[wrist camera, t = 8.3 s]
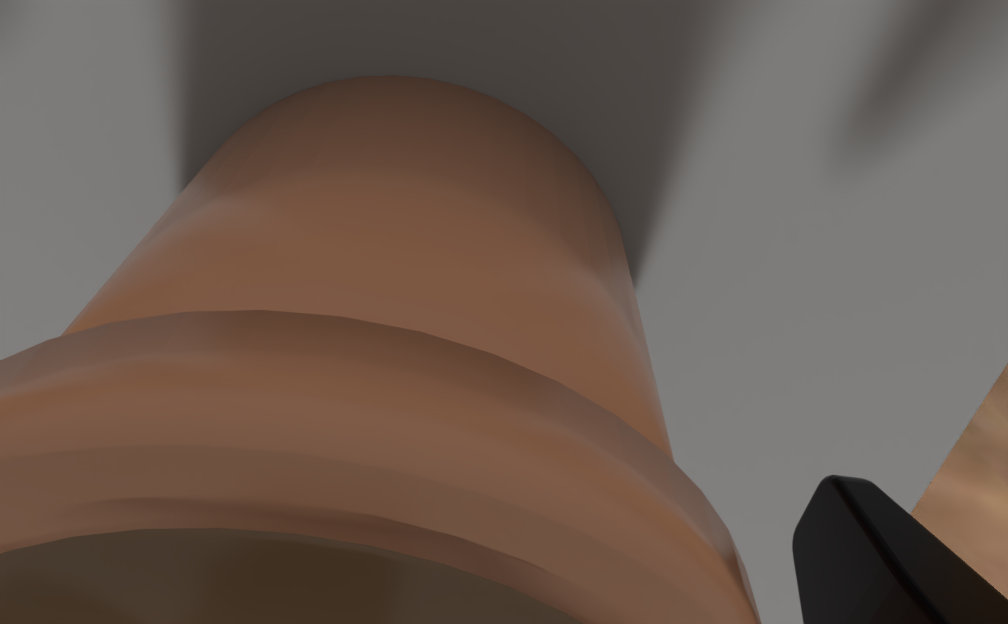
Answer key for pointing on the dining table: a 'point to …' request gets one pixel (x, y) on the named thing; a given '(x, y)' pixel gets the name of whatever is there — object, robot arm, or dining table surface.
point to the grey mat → (609, 196)
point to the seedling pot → (361, 395)
